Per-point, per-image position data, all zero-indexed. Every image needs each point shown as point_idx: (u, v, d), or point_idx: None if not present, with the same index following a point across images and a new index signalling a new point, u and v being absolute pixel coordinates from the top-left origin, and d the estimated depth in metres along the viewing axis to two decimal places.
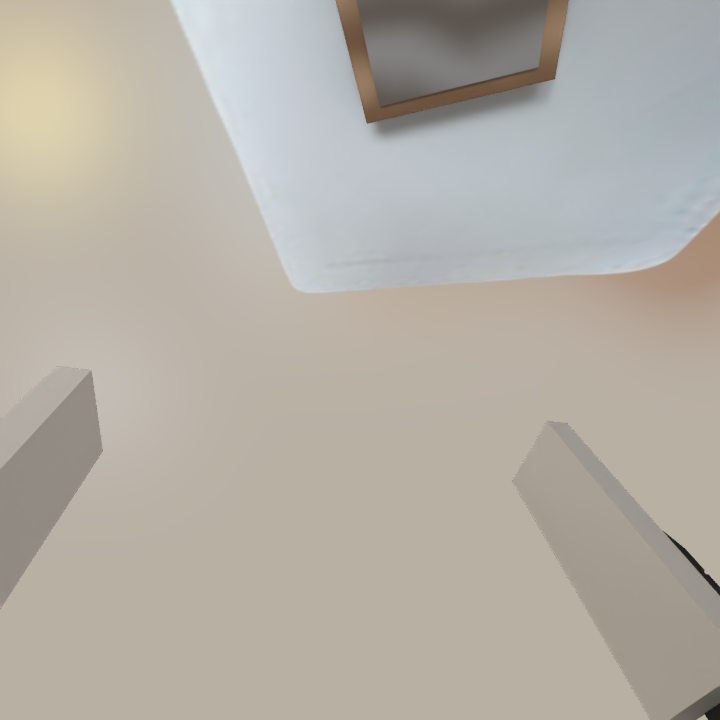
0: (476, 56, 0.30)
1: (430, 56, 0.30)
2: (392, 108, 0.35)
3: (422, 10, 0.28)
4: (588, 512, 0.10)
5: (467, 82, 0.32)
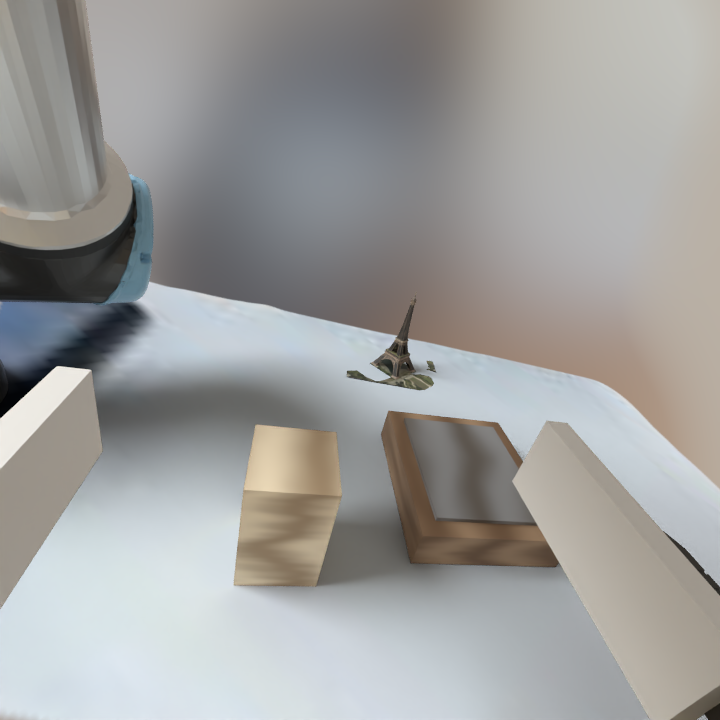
0: (494, 455, 0.41)
1: (501, 480, 0.38)
2: None
3: (473, 480, 0.37)
4: (588, 512, 0.10)
5: (512, 461, 0.41)
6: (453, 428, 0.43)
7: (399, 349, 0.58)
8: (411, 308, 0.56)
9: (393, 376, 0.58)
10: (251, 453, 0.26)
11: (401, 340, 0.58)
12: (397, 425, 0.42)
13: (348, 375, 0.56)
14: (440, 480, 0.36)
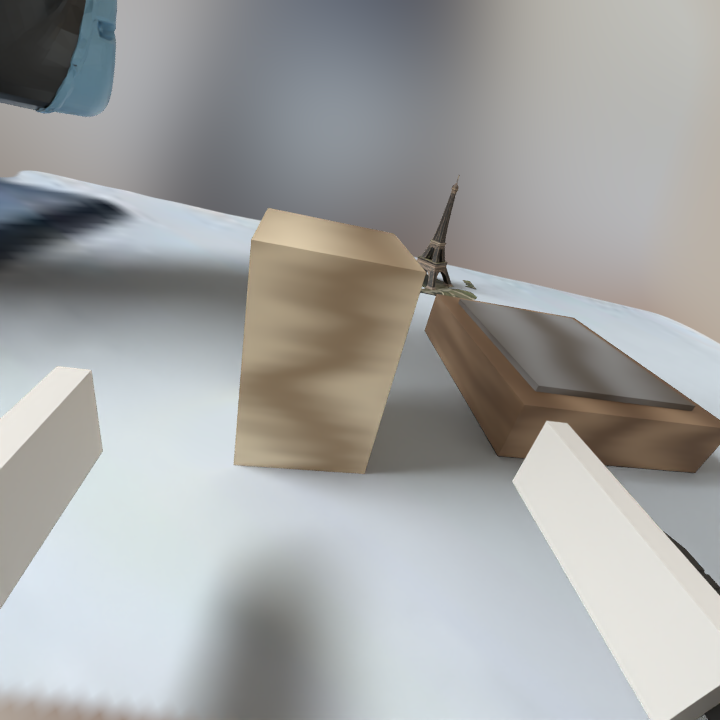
0: (586, 339, 0.30)
1: (605, 360, 0.27)
2: None
3: (570, 357, 0.26)
4: (588, 512, 0.10)
5: (610, 347, 0.30)
6: (524, 313, 0.33)
7: (435, 254, 0.48)
8: (452, 198, 0.45)
9: (428, 287, 0.47)
10: (263, 221, 0.15)
11: (438, 242, 0.47)
12: (451, 306, 0.32)
13: None
14: (527, 352, 0.25)
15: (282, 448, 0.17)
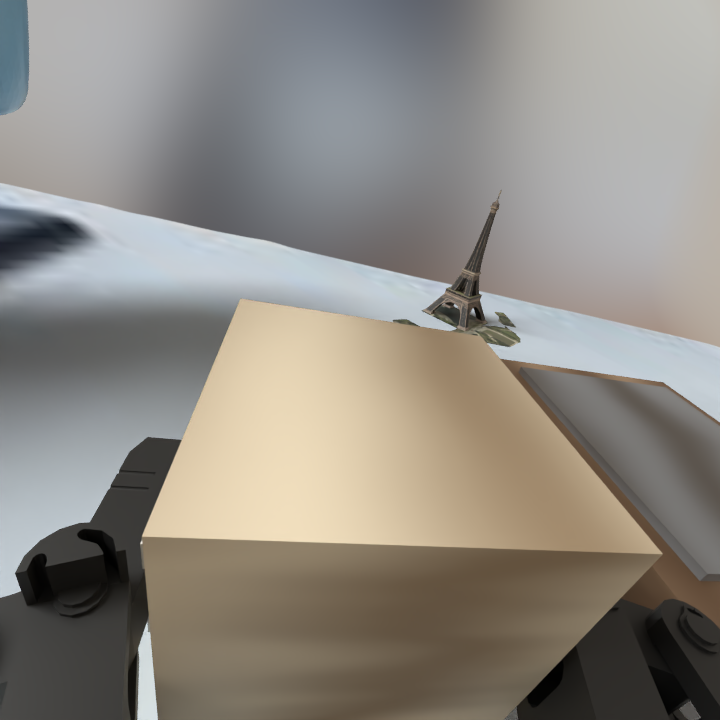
0: (705, 432, 0.21)
1: None
2: None
3: (709, 479, 0.17)
4: None
5: None
6: (608, 386, 0.24)
7: (468, 286, 0.39)
8: (491, 218, 0.36)
9: (460, 327, 0.39)
10: (217, 367, 0.06)
11: (472, 272, 0.38)
12: None
13: None
14: (651, 480, 0.16)
15: None
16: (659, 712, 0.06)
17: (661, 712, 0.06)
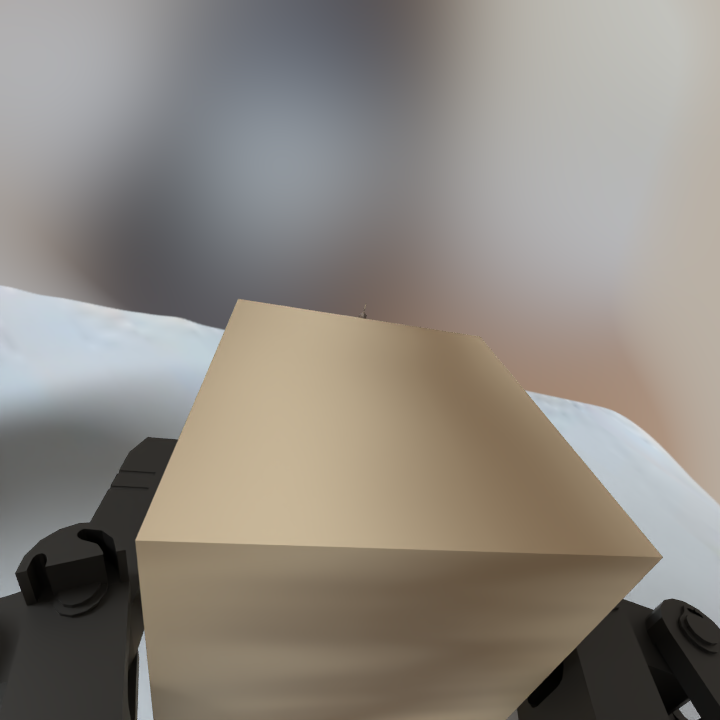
0: None
1: None
2: None
3: None
4: None
5: None
6: None
7: None
8: None
9: None
10: (214, 368, 0.06)
11: None
12: None
13: None
14: None
15: None
16: (658, 712, 0.06)
17: (661, 712, 0.06)
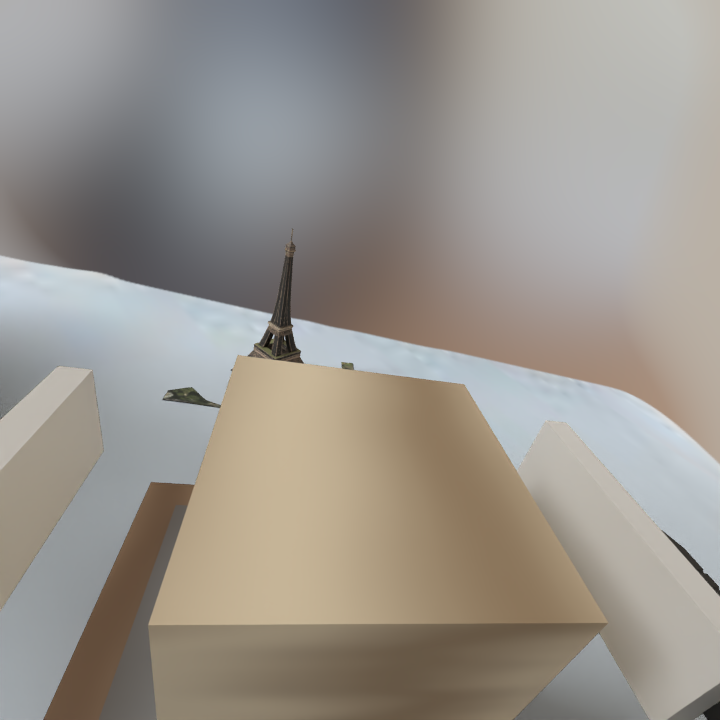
0: None
1: None
2: None
3: None
4: (587, 512, 0.10)
5: None
6: None
7: (275, 343, 0.31)
8: (287, 263, 0.29)
9: None
10: (215, 437, 0.07)
11: (277, 326, 0.31)
12: (144, 530, 0.16)
13: (167, 396, 0.29)
14: None
15: None
16: None
17: None
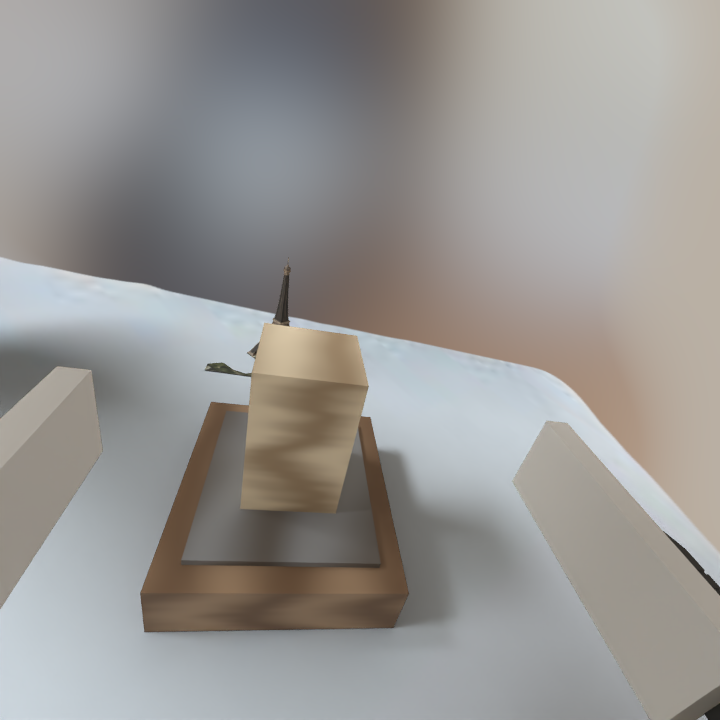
0: None
1: None
2: (387, 551, 0.24)
3: None
4: (588, 512, 0.10)
5: (362, 469, 0.29)
6: None
7: None
8: (285, 279, 0.44)
9: None
10: (260, 344, 0.22)
11: (279, 321, 0.46)
12: (211, 421, 0.31)
13: (207, 368, 0.43)
14: (226, 499, 0.24)
15: (275, 497, 0.24)
16: None
17: None
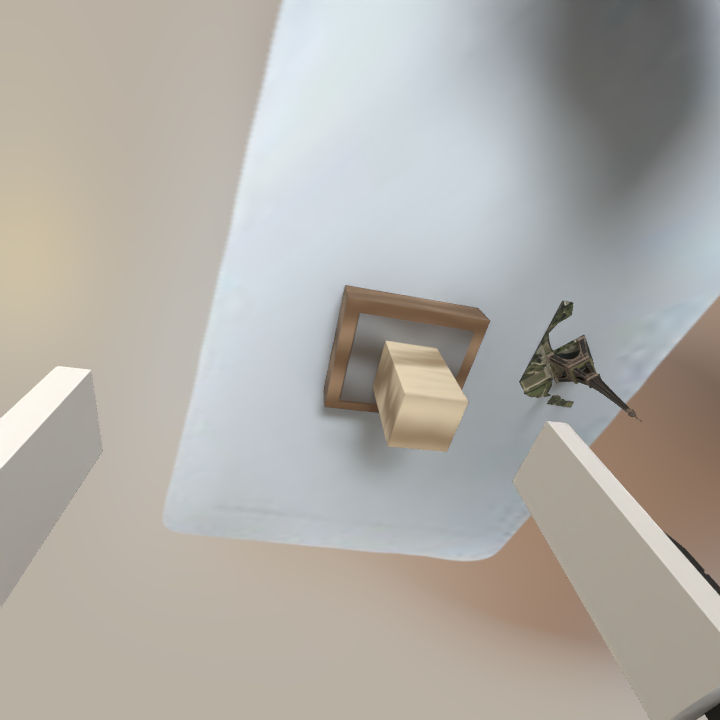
0: None
1: None
2: (347, 403, 0.46)
3: None
4: (588, 512, 0.10)
5: None
6: None
7: (581, 373, 0.47)
8: (623, 406, 0.42)
9: (551, 354, 0.50)
10: (437, 399, 0.34)
11: (590, 379, 0.46)
12: (467, 322, 0.42)
13: (565, 303, 0.46)
14: (393, 333, 0.41)
15: (382, 362, 0.42)
16: None
17: None
